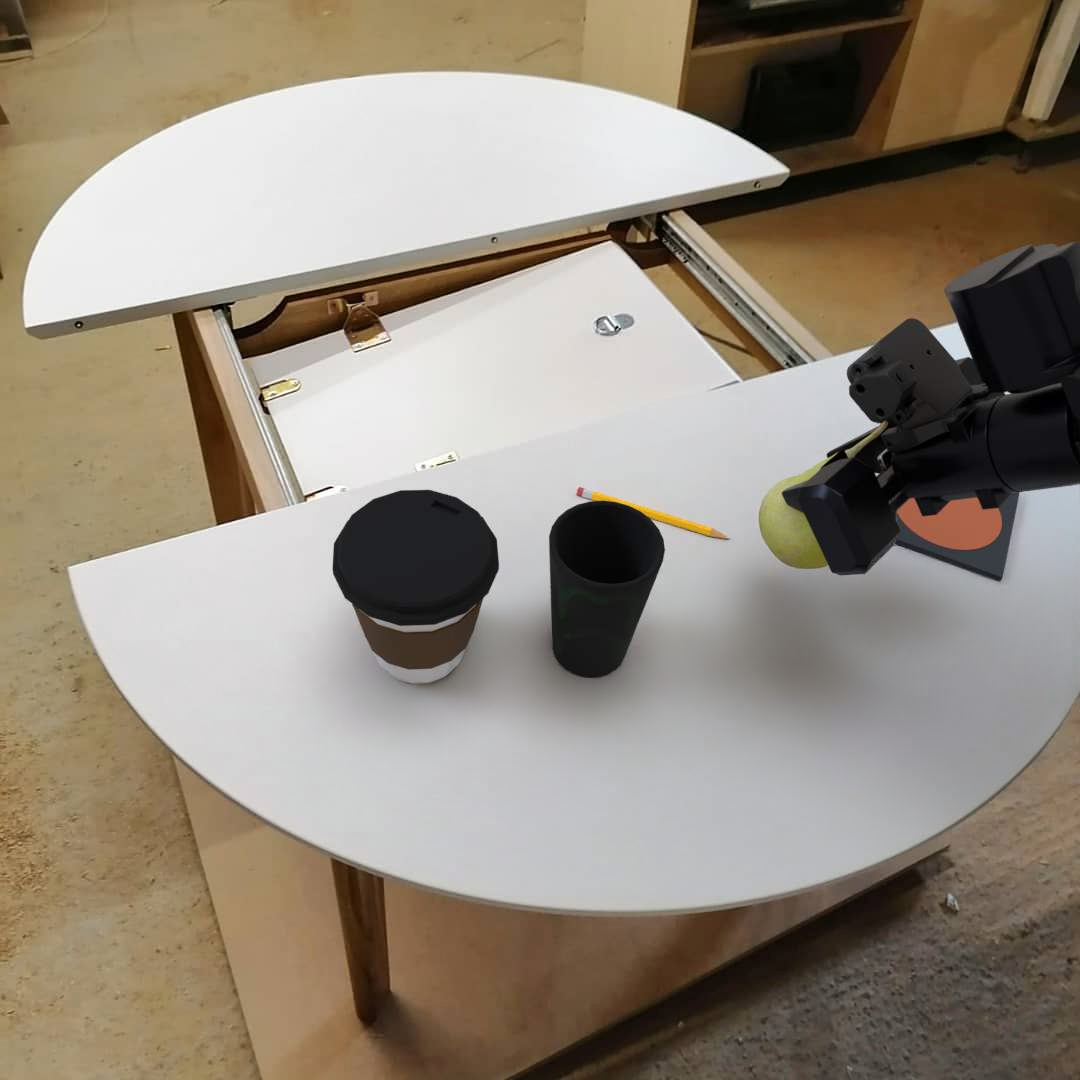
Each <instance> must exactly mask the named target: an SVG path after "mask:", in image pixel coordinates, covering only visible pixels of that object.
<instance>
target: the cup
mask: <svg viewBox="0 0 1080 1080" xmlns="http://www.w3.org/2000/svg"><path fill="white" fill-rule="evenodd" d="M548 545H549V547H548V549H549V553H548V554H549V582H550V585H549V586H550V589H549V590H550V619H551V620H550V621H551V650H552V654H553V657H554V658H555V660H556V661H557V663H558V664H559V665H560V666H561V667H562V668H563V669H564V670H565V671H567V672H568V673H570V674H572V675H575V676H578V677H581V678H588V679H595V678H596V679H597V678H602V677H606V676H608V675H610V674H612V673H613V672H615V671H616V670H618V668H619V667H621V665H622V663H623V661H624V660H625V659H626V658H625V657H626V655H627V653H628V650H629V647H630V645H631V642H632V640H633V637H634V635H635V632H636V630H637V627H638V625H639V622H640V620H641V617H642V615H643V612H644V610H645V607H646V605H647V602H648V600H649V597H650V594H651V592H652V590H653V587H654V584H655V583H656V579H657V578H658V575H659V572H660V570H661V567H662V564H663V562H664V558H665V552H666V549H665V548H666V546H665V540H664V537H663V535H662V532H661V531H660V529H659V527H658V526H657V525H656V523H655V522H654V521H653V519H652V518H648V517H647V516H646V515H645V514H643V513H642V512H640V511H638V510H637V509H635V508H633V507H631V506H628V505H625V504H621V503H618V502H612V501H594V500H591V501H586V502H582V503H579V504H576V505H574V506H572V507H570V508H568V509H565V511H564V512H562V513H561V514H560V515H559V516H558V517H557V518H556V519H555V520H554V522H553V524H552V525H551V528H550V532H549V535H548Z"/></svg>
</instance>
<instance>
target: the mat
mask: <svg viewBox="0 0 1080 1080" xmlns="http://www.w3.org/2000/svg"><path fill="white" fill-rule="evenodd" d="M1020 493H1021V492H1017V493H1012V494H1011V495H1010V496H1009V497H1008V498H1007V499H1006V500H1005V501H1004V502H1003V504H1002V505H1001V506H1000V507H999V508H993V509H984V510H983V509H982V507H981V505H980V502H979V500H978V498H969V499H961V500H953V501H950V502H949V503H948V504H947V505H946V506H945V507H944V508H943V509H942V510H941V511H940V512H939V513H938V514H937V515H931V516H922V514H921V512H920V510H919V508H918V505H917V503H916V501H915V499H914V498H910V499H909V500H908V501H907V502H906V503H905V504H904V505H903V506H902V507H901V508H900V509H899V510H898V511H897V524H898V526H899V528H900V530H901V532H900V534H899V536H898V538H897V540H896V542H895V544H894V545H897V546H901V547H903V548H906V549H909V550H912V551H914V552H917V553H919V554H923V555H925V556H927V557H931V558H933V559H937V560H940V561H942V562H945V563H947V564H951V565H953V566H955V567H959V568H961V569H964V570H967V571H969V572H970V571H971V572H972V573H976V574H978V575H981V576H984V577H986V578H989V579H992V580H995V581H998V582H1001V581H1002V579H1003V578H1004V573H1005V569H1006V563H1007V558H1008V553H1009V548H1010V542H1011V538H1012V532H1013V527H1014V522H1015V518H1016V512H1017V508H1018V502H1019V499H1020V498H1019V497H1020Z"/></svg>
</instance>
